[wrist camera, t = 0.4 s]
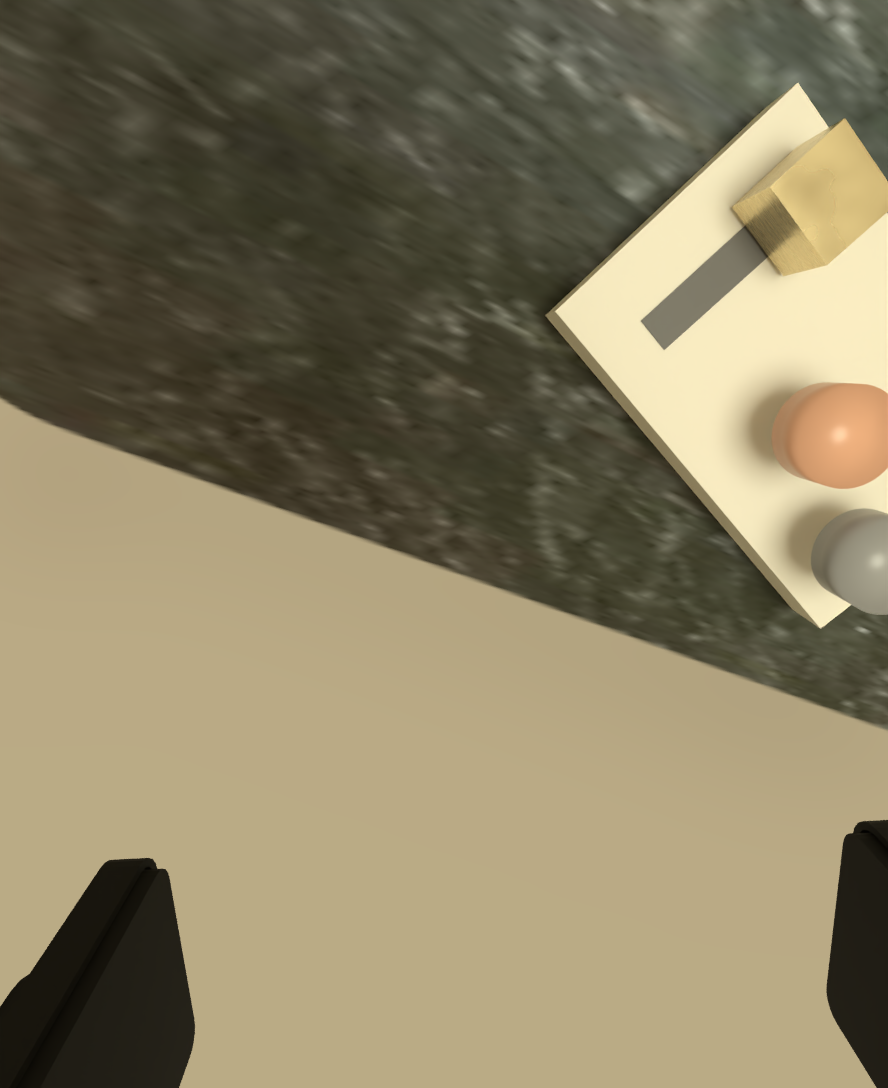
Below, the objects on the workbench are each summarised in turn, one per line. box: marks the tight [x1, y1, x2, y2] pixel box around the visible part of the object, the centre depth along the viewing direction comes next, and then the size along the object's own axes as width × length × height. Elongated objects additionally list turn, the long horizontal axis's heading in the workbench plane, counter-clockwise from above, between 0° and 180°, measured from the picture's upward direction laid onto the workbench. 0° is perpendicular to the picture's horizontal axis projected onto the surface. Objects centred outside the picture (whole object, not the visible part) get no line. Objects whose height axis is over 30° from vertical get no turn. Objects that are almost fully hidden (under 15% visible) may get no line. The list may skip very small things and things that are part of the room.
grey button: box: [811, 508, 888, 615], centre depth 32 cm, size 4×4×4 cm
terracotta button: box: [772, 382, 888, 489], centre depth 30 cm, size 4×4×4 cm
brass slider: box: [732, 118, 888, 276], centre depth 29 cm, size 4×4×4 cm
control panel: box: [545, 83, 888, 629], centre depth 34 cm, size 14×22×3 cm, turn 43°
